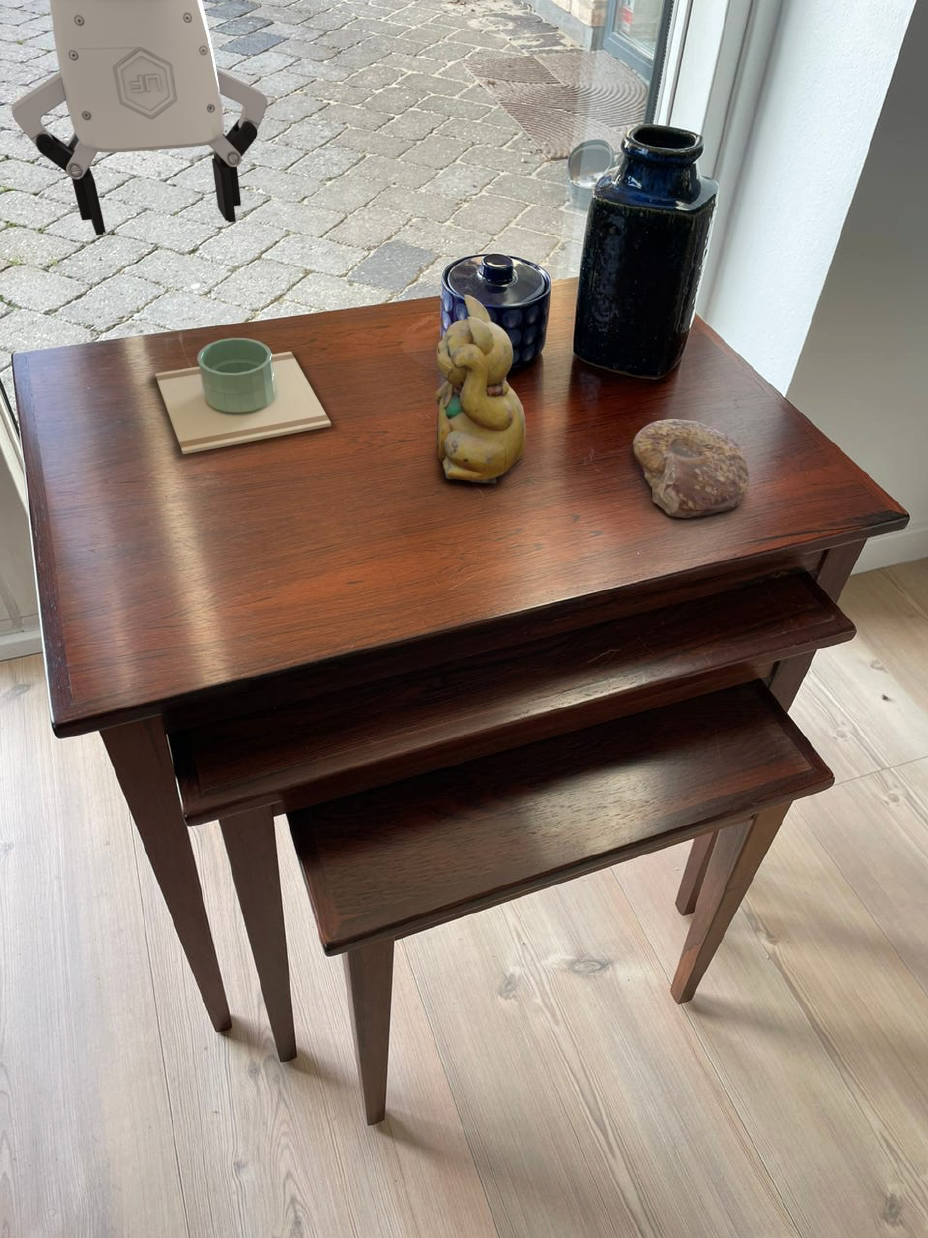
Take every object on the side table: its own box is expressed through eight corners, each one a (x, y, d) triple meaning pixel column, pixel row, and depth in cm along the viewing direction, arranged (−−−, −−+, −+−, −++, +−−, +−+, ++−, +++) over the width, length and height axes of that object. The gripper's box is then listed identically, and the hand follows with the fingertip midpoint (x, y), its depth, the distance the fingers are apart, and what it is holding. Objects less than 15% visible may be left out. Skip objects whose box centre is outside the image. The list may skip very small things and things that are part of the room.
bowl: (213, 422, 84) (206, 380, 81) (198, 385, 89) (190, 343, 85) (283, 409, 87) (279, 367, 83) (266, 374, 91) (261, 333, 88)
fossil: (764, 517, 77) (668, 473, 74) (726, 553, 81) (633, 512, 77) (743, 425, 85) (656, 382, 82) (709, 461, 89) (625, 421, 86)
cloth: (183, 454, 81) (182, 450, 81) (155, 376, 90) (154, 373, 90) (331, 426, 86) (331, 422, 85) (291, 354, 94) (291, 351, 94)
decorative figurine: (428, 433, 86) (432, 282, 75) (513, 431, 87) (529, 281, 76) (439, 496, 79) (445, 340, 68) (530, 493, 80) (551, 339, 69)
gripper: (-30, -42, 51) (49, 254, 63) (267, -43, 57) (288, 229, 69) (-36, -66, 56) (39, 214, 68) (239, -65, 62) (263, 194, 74)
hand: (164, 221), depth 69 cm, fingers open, 9 cm apart
